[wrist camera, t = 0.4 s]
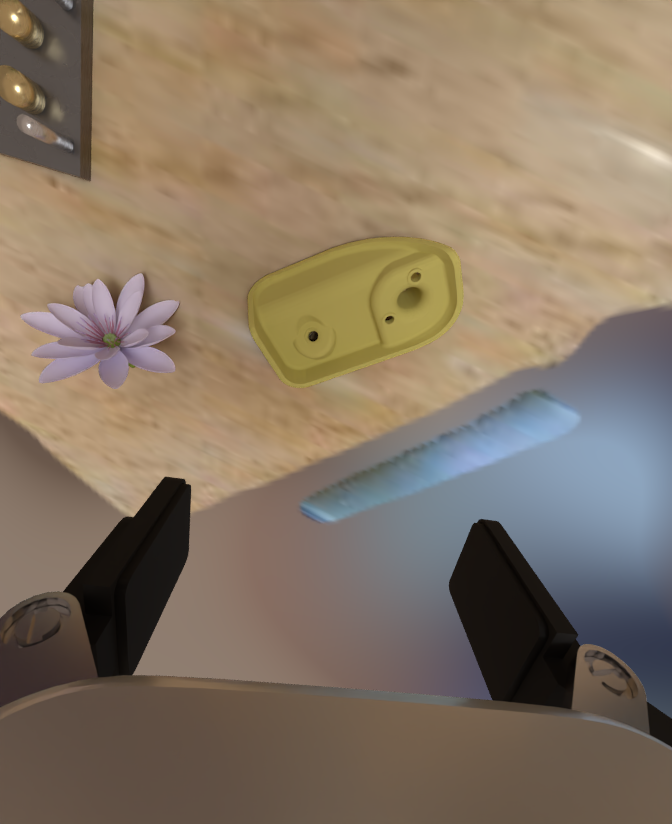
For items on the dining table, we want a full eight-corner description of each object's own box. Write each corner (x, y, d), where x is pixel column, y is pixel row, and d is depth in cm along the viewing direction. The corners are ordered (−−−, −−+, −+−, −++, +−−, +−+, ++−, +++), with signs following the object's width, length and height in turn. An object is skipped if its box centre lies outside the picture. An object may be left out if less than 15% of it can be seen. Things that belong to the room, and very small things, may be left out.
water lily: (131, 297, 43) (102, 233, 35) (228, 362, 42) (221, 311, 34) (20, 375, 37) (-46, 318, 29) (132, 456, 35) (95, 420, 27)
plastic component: (289, 393, 39) (242, 323, 32) (287, 352, 44) (246, 283, 37) (466, 332, 36) (459, 238, 28) (443, 295, 41) (431, 207, 33)
